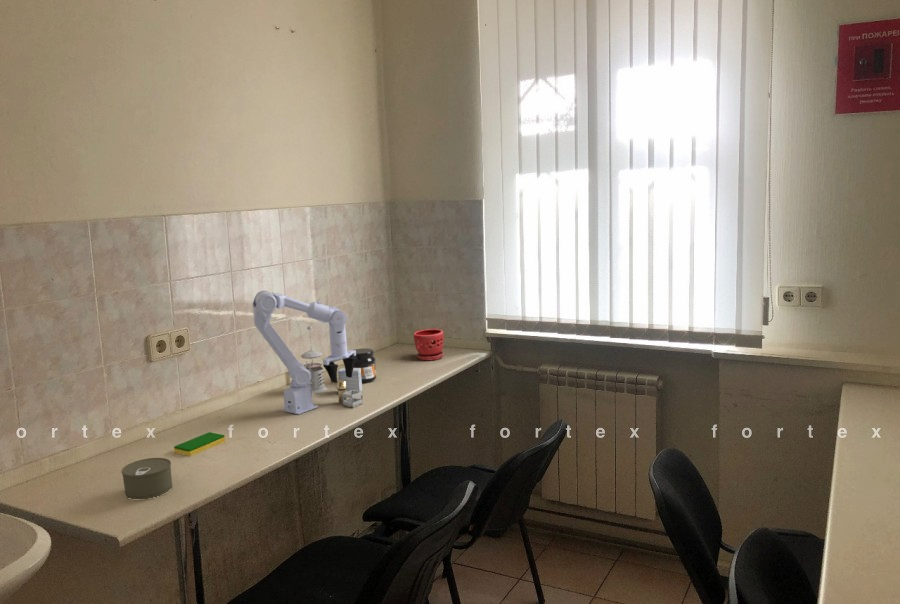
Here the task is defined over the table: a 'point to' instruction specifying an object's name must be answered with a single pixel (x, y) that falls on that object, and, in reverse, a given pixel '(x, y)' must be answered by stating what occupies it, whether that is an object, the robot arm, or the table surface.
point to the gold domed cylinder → (341, 390)
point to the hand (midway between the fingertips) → (341, 379)
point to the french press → (314, 370)
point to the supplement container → (366, 364)
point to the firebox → (352, 398)
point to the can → (147, 478)
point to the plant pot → (429, 344)
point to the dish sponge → (199, 443)
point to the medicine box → (351, 379)
